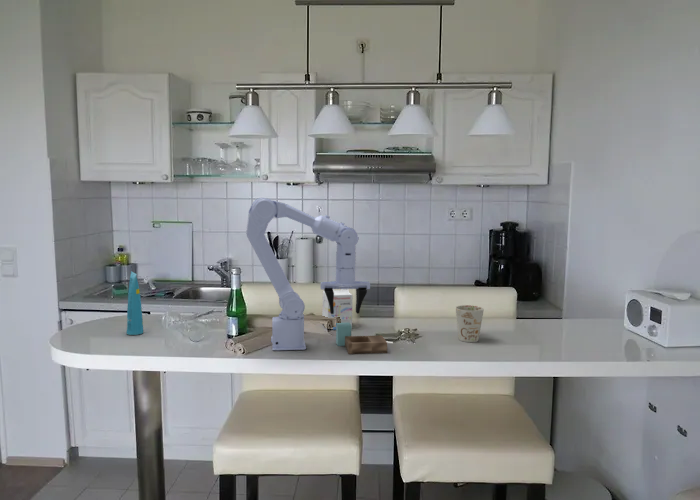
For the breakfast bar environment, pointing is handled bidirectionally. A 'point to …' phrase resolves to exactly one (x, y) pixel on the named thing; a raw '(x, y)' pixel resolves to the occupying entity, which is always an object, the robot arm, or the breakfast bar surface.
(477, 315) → the mug
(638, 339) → the breakfast bar surface
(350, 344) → the walnut base
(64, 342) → the breakfast bar surface
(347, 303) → the ink box
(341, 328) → the teal block
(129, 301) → the tube
